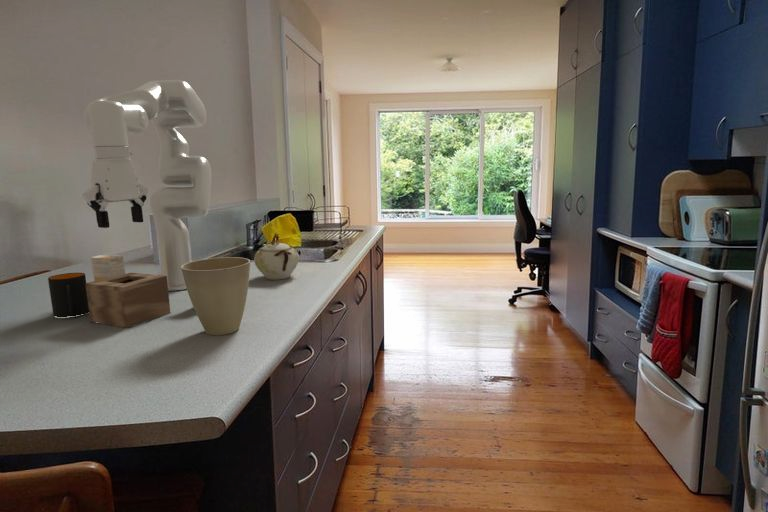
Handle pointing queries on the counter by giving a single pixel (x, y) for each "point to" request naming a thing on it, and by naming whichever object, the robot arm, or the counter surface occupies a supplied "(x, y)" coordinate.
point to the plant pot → (218, 292)
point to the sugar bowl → (276, 260)
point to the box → (128, 299)
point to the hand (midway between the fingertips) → (121, 224)
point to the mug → (68, 294)
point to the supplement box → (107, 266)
